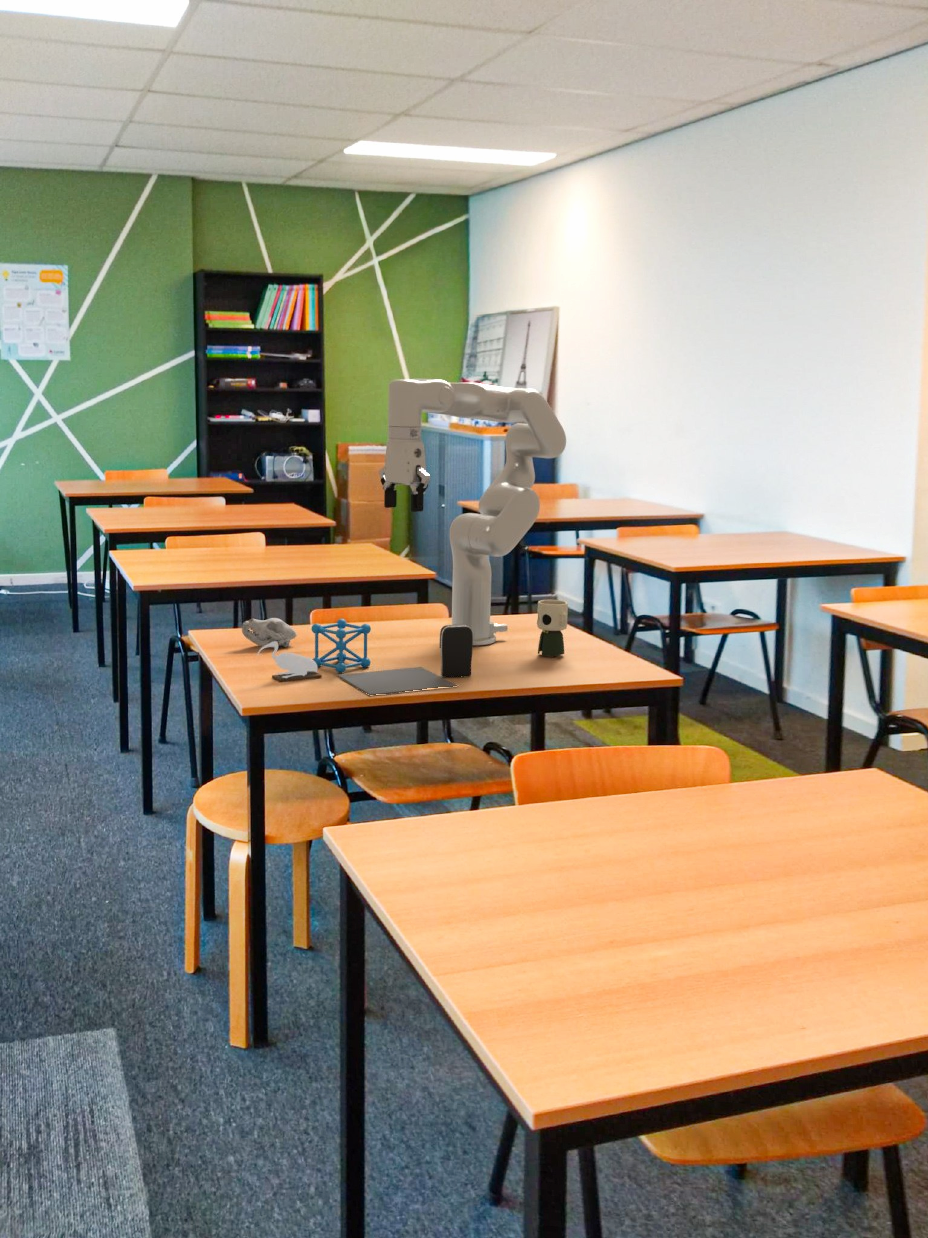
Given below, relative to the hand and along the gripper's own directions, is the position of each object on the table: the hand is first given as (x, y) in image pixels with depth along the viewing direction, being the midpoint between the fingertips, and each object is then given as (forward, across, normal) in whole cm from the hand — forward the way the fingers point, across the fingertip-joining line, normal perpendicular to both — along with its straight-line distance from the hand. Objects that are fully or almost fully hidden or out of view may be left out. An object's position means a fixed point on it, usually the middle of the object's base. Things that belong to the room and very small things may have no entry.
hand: (403, 509), depth 289 cm
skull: (+34, +24, +21) cm, 47 cm away
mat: (+34, -21, +18) cm, 44 cm away
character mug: (+34, -23, -27) cm, 49 cm away
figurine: (+34, -5, +35) cm, 49 cm away
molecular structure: (+34, -3, +20) cm, 40 cm away
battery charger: (+34, -24, +5) cm, 42 cm away
